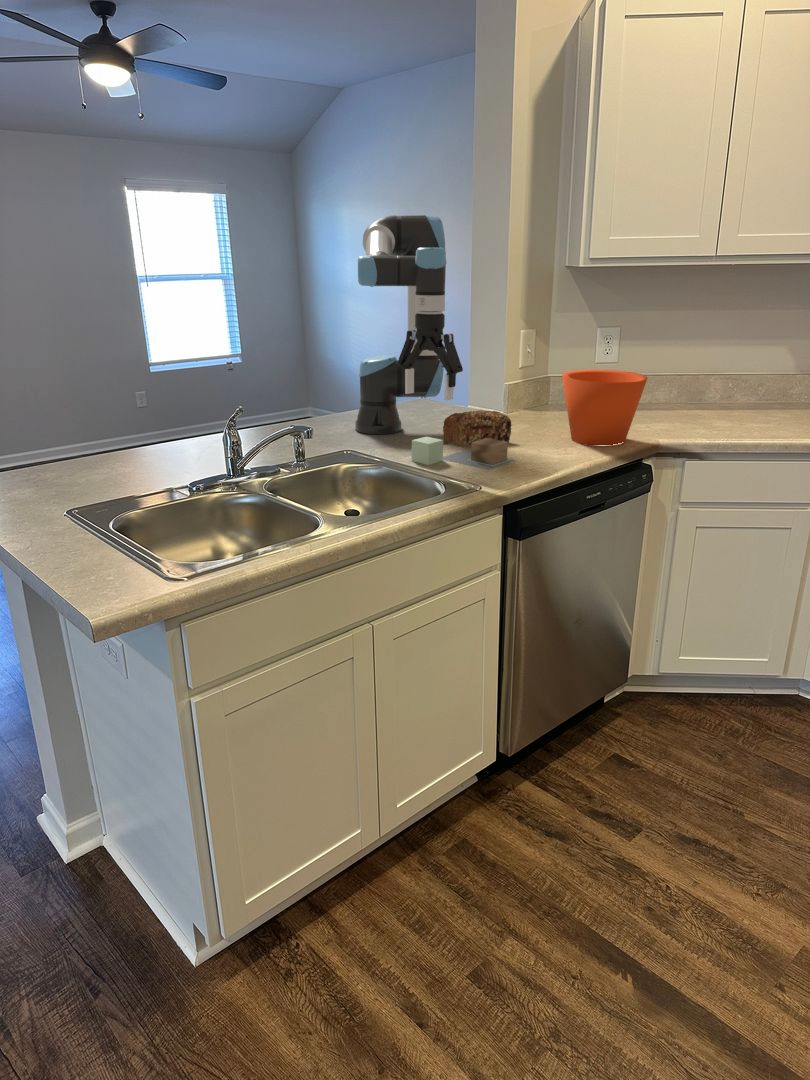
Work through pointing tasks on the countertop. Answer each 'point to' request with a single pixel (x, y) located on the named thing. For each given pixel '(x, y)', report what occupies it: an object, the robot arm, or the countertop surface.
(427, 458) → the green block
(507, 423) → the bread
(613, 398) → the flowerpot
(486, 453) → the walnut base
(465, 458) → the build mat
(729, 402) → the countertop surface
